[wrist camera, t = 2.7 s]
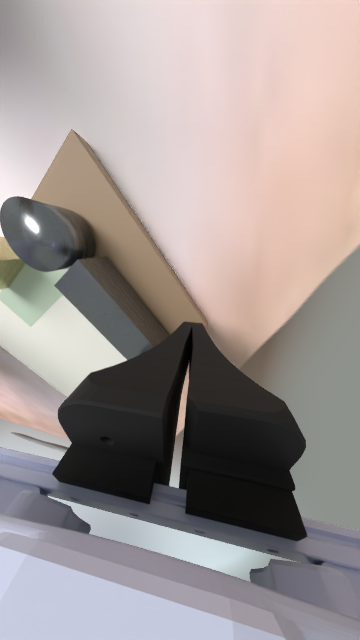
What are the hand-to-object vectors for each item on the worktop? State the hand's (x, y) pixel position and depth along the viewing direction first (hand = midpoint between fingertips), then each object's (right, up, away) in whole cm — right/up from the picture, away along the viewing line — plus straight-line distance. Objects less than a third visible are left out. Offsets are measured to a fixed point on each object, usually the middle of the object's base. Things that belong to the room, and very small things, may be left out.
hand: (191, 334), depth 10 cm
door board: (-10, +1, +4) cm, 11 cm away
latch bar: (-5, +3, 0) cm, 6 cm away
